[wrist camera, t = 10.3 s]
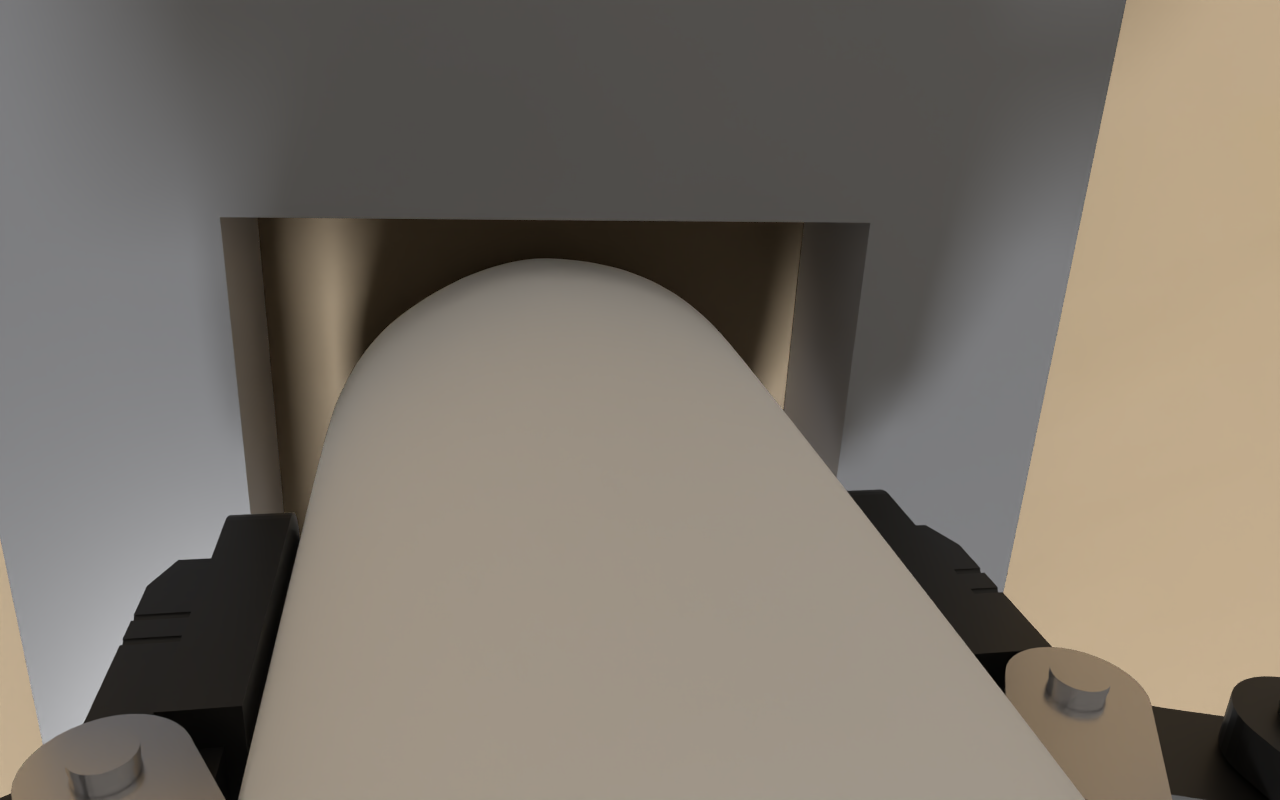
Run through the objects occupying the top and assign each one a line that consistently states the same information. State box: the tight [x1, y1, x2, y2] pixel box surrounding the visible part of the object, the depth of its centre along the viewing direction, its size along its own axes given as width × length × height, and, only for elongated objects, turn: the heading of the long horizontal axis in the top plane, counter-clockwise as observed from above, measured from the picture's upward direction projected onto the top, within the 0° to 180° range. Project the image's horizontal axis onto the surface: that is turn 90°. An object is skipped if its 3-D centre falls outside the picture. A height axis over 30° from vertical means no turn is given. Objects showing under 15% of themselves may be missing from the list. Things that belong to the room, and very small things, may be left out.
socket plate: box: [0, 0, 1126, 745], centre depth 15 cm, size 14×14×2 cm
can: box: [238, 258, 1085, 800], centre depth 10 cm, size 6×6×12 cm
